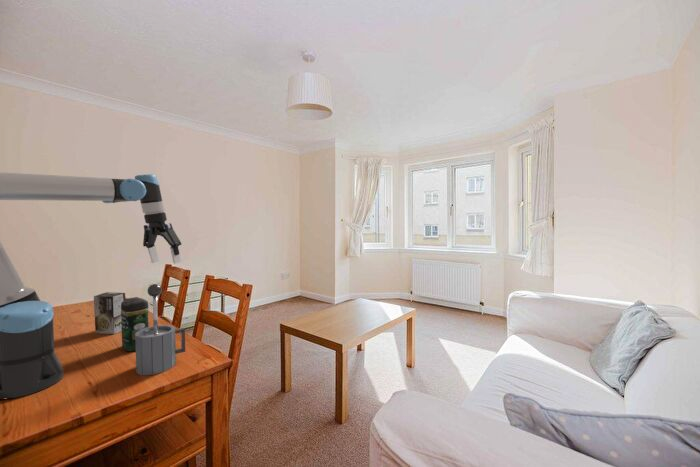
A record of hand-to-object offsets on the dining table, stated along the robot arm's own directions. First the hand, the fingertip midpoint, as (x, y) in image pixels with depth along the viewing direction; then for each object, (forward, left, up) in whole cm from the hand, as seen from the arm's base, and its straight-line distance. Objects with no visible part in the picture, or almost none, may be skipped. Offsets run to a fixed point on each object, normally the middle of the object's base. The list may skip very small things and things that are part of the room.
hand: (166, 262), depth 126 cm
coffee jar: (-11, -10, -30) cm, 34 cm away
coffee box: (-19, +15, -30) cm, 39 cm away
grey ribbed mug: (-5, -32, -30) cm, 44 cm away
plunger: (-6, -32, -20) cm, 38 cm away
